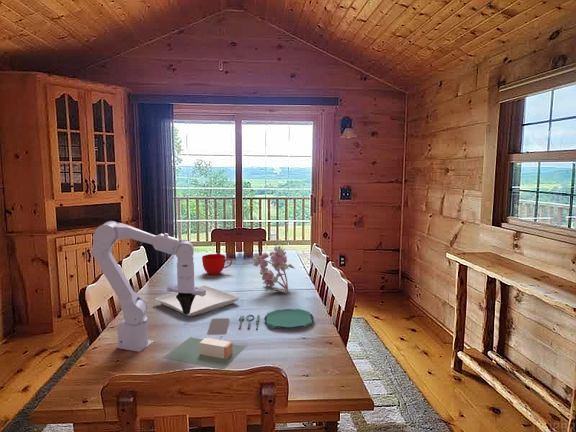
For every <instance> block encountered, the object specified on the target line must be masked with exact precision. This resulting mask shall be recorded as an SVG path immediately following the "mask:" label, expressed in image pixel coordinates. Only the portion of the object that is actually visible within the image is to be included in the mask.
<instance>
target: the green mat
mask: <svg viewBox="0 0 576 432" xmlns="http://www.w3.org/2000/svg"><path fill="white" fill-rule="evenodd" d="M202 340H203V339H202V338H198V337H197V338H196V337H188V338H187V339H186V340H184V341H183V342H182V343H180V344H179V345H178V346H176V347H175V348H174V349H173V350H171V351H170V352H168V353H167V354H165V355H164V356H163V357H162V359H167V360H172V361H176V362H182V363H188V364H192V365H198V366H203V367H208V368H213V369H219V370H223V369H224V370H225V369H226V368H227V367H228V366H229V364H231V363H232V361H234V359H235V358H236V357H238V355H239V354H240V353H241V352H242V351H243V350H245V348H246V346H244V345H241V344H239V345H238V344H233V343H232V345H233V354H232V355H231V356H230V357H229V358H228V359H223V358H218V357H212V356H207V355H201V354H200V346H199V343H200V342H201V341H202Z"/></svg>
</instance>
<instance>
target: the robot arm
mask: <svg viewBox="0 0 576 432" xmlns="http://www.w3.org/2000/svg"><path fill="white" fill-rule="evenodd" d="M91 238H92V256H93V259H94V260H95V262H96V263H97V265H98V266H99V268H100V270H101V271H102V274H104V276H105V278H106V280H107V281H108V284H109V285H110V286H111V288H112V290H113V291H114V293H115V295H116V296H117V298H118V300H119V304H120V308H121V310H122V313H123V319H122V320H121V321H120V322H119V323H118V327H117V341H118V342H117V343H118V345H117V346H116V348H117V349H121V350H127V351H132V352H141V351H143V350H144V349H146V348H147V347H149V346H150V345H151V344H153V343H154V342H155V341H154V340H152V339H149V330H148V329H149V328H148V325H149V324H148V316H146V314H145V313H146V311H147V310H148V303H147V302H146V300H145V299H143V298H141V296H140V294H139V293H137V292H136V291H134V289H133V287H132V286H131V284H130V282H129V281H128V279H127V277H126V275H125V274H124V272H123V271H122V268H121V267H120V266H119V263H118V261H117V260H116V258H115V256H114V255H113V253H112V249H113V247H114V244H115V242H116V241H123V240H126V239H130V240H134V241H138V242H141V243H146V244H149V245H152V247H153V248H154V250H155V251H159V252H162V253H165V254H168V255H172V256H175V257H176V258H177V262H176V281H177V285H176V284H175V285H173V284H170V285H167V286H166V292H167V293H170V292H172V293H176V292H178V295H176V298H177V299H178V301H179V303H180V305H181V307H182V310H183V313H182V314H183V315H185V314H186V315H185V316H187V314H189V313H190V310H191V305H192V302H193V300H194V298H195V296H196V295H200V296H202V297H203V296H205V295H206V290H205V289H201V288H198V287H199V286H195V262H194V255H195V254H194V253H195V251H194V245H193V243H192V242H191V241H189V240H188V239H183V238H180V237H179V239H178V238H176V237H173V236H169V233H166V232H164V233H159V234H157V235H155V234H152V233H150V232H147V231H144V230H141V229H140V228H136V227H135V226H131V225H129V224H125V223H124V222H123V223H122V222H116V221H114V220H109V221H108V220H107V221H106V222H104V223H103V224H101V225H99V226H98V227H97V228H95V231H94V232H93V235H92V237H91Z"/></svg>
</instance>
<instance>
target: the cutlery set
mask: <svg viewBox="0 0 576 432" xmlns="http://www.w3.org/2000/svg"><path fill="white" fill-rule="evenodd" d="M249 317H252V319H248V318H249ZM245 318H246V320H247V321H248V323H247V327H246V328H247V330H250V328H251V321H253V320H255V316H254V314H248V315H246V317H245V315H240V317H239V318H238V321H239V326H238V330H241V329H242V325H243V324H242V323H243V321H245ZM314 318H315V317H314V316H313V314H312V313H310V311H308V310H305V309H300V308H295V309H294V308H286V309H275V310H273V311H270V312H267V313H266V315H265V316H264V318H263V319H264V322H265V324H266V326H267V327H268V328H269V329H270V330H273V329H274V328H277V329H288V330H289V329H291V330H292V329H299V328H300V329H301V328H303V327H305V328H308V327H310V326H312V323H313V322H314ZM259 324H260V315H259V314H257V318H256V321H255V325H256V327H255V330H256V331H258V330H259V329H258V328H259V327H258V326H259Z"/></svg>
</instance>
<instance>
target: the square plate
mask: <svg viewBox="0 0 576 432" xmlns="http://www.w3.org/2000/svg"><path fill="white" fill-rule="evenodd" d="M197 287H198V288H201V289H205V290H206V295H205V296H203V297H202V296H200V295H196V296H195V298H194V300H193V302H192V305H191V310H190V313H189V314H187V315H186V314H184V315H185V316H188V317H194V316H197V315H201V314H204V313H208V312H211V311H214V310H217V309H219V308H223V307H225V306H227V305H231V304H233V303H236V302H237V301H239V299H240V297H239V296H237V295H234V294H232V293H229V292H226V291H224V290H223V291H222V290H221V289H217V288H215V287H211V286H208V285H202V286H197ZM176 295H178V292H172V293H169V294H164V295H163V296H158V297H155V298H154V300H155V301H157V302H158V303H160V304H161V305H163V306H166V307H168V308H170V309H172V310H175V311H177V312H179V313H181V314H183V310H182V307H181V305H180V303H179V301H178V299H177V298H176Z"/></svg>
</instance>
